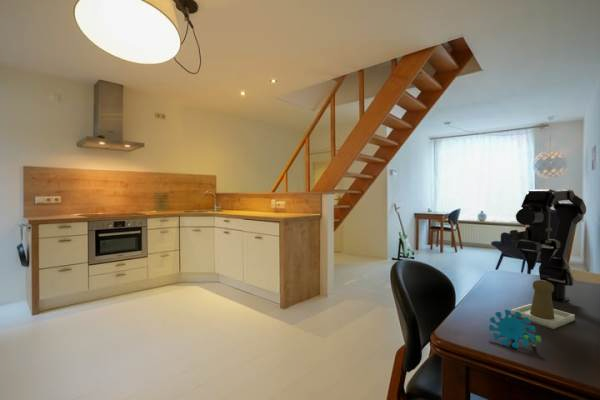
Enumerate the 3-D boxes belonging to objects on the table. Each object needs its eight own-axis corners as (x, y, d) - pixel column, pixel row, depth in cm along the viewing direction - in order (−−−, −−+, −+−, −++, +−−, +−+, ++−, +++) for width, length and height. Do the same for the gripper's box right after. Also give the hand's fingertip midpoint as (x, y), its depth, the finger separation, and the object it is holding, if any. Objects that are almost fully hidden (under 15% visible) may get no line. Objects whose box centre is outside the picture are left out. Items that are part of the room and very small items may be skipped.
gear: (481, 332, 78) (497, 302, 81) (485, 342, 81) (501, 313, 84) (531, 357, 69) (547, 322, 72) (533, 367, 72) (549, 333, 75)
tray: (533, 308, 101) (533, 302, 101) (574, 320, 91) (574, 314, 91) (511, 315, 94) (511, 309, 94) (552, 329, 85) (553, 323, 85)
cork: (559, 320, 89) (560, 284, 89) (536, 318, 91) (538, 283, 90) (547, 312, 95) (548, 279, 95) (526, 310, 97) (527, 277, 96)
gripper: (526, 222, 115) (524, 261, 116) (500, 222, 107) (498, 265, 107) (561, 224, 106) (559, 267, 106) (536, 226, 97) (534, 273, 97)
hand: (537, 268), depth 104 cm, fingers open, 9 cm apart
